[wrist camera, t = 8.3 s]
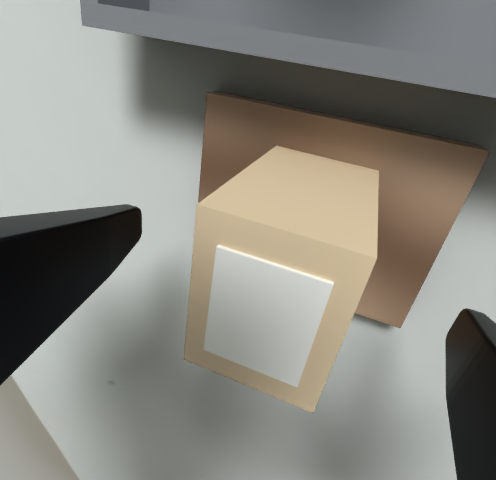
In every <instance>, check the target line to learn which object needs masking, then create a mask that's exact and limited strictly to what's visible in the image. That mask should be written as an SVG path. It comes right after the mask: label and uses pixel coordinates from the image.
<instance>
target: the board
mask: <svg viewBox="0 0 496 480" xmlns="http://www.w3.org/2000/svg"><path fill="white" fill-rule="evenodd" d="M275 146H280V147H284V148H288V149H292V150H296V151H300V152H305V153H309V154H313V155H317V156H321V157H325V158H329V159H333V160H337V161H342V162H346V163H350V164H354V165H358V166H362V167H366V168H370V169H374V170H378V171H379V189H378V240H377V260H376V262H375V265H374V267H373V269H372V272H371V274H370V277H369V279H368V282H367V284H366V286H365V289H364V291H363V294H362V296H361V298H360V301H359V303H358V306H357V308H356V311H355V313H356V314H359V315H362V316H365V317H368V318H371V319H374V320H377V321H380V322H383V323H386V324H389V325H392V326H395V327H398V328H401V326H402V324H403V322H404V320H405V318H406V316H407V314H408V312H409V310H410V308H411V306H412V304H413V302H414V300H415V298H416V297H417V295H418V293H419V291H420V289H421V287H422V285H423V283H424V281H425V279H426V277H427V275H428V273H429V271H430V269H431V267H432V265H433V263H434V261H435V259H436V257H437V255H438V253H439V251H440V249H441V247H442V245H443V243H444V241H445V239H446V237H447V235H448V233H449V231H450V229H451V227H452V225H453V223H454V221H455V220H456V218H457V216H458V214H459V212H460V210H461V208H462V206H463V204H464V202H465V200H466V198H467V196H468V194H469V192H470V190H471V188H472V186H473V184H474V182H475V180H476V178H477V176H478V174H479V172H480V170H481V168H482V166H483V164H484V162H485V160H486V158H487V156H488V154H489V152H490V151H489V150H488V149H486V148H485V147H484V146H480V145H476V144H471V143H466V142H461V141H456V140H451V139H446V138H442V137H437V136H432V135H427V134H422V133H417V132H412V131H408V130H403V129H398V128H393V127H388V126H383V125H378V124H374V123H369V122H364V121H359V120H354V119H349V118H344V117H340V116H335V115H330V114H325V113H320V112H315V111H310V110H306V109H301V108H296V107H291V106H286V105H281V104H276V103H272V102H267V101H262V100H257V99H252V98H247V97H242V96H238V95H233V94H228V93H223V92H218V91H214V92H207V98H206V111H205V124H204V136H203V149H202V161H201V174H200V187H199V199H198V203H199V202H201V201H202V200H203V199H205V198H206V197H207V196H209V195H210V194H211V193H213V192H214V191H216V190H217V189H218V188H220V187H221V186H222V185H224V184H225V183H226V182H228V181H229V180H230V179H232V178H233V177H235V176H236V175H237V174H239V173H240V172H241V171H243V170H244V169H245V168H247V167H248V166H249V165H251V164H252V163H253V162H255V161H256V160H258V159H259V158H260V157H262V156H263V155H264V154H266V153H267V152H268V151H270V150H271V149H272V148H274V147H275Z"/></svg>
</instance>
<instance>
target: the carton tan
mask: <svg viewBox="0 0 496 480" xmlns="http://www.w3.org/2000/svg"><path fill="white" fill-rule="evenodd" d="M378 189H379V171H378V170H374V169H370V168H366V167H362V166H358V165H354V164H350V163H346V162H342V161H337V160H333V159H329V158H325V157H321V156H317V155H313V154H309V153H305V152H300V151H296V150H292V149H288V148H284V147H280V146H275V147H274V148H272V149H271V150H270V151H268V152H267V153H266V154H264V155H263V156H262V157H260V158H259V159H258V160H256V161H255V162H253V163H252V164H251V165H249V166H248V167H247V168H245V169H244V170H243V171H241V172H240V173H239V174H237V175H236V176H235V177H233V178H232V179H230V180H229V181H228V182H226V183H225V184H224V185H222V186H221V187H220V188H218V189H217V190H216V191H214V192H213V193H211V194H210V195H209V196H207V197H206V198H205V199H203V200H202V201H201V202H199V203H198V204H197V210H196V221H195V233H194V245H193V257H192V268H191V280H190V292H189V304H188V315H187V327H186V339H185V351H184V360H187V361H189V362H191V363H194V364H196V365H199V366H201V367H203V368H206V369H208V370H211V371H213V372H215V373H218V374H220V375H223V376H225V377H227V378H230V379H232V380H235V381H237V382H240V383H242V384H244V385H247V386H249V387H252V388H254V389H256V390H259V391H261V392H264V393H266V394H268V395H271V396H273V397H276V398H278V399H280V400H283V401H285V402H288V403H290V404H292V405H295V406H297V407H300V408H302V409H304V410H307V411H309V412H312V413H313V412H314V410H315V407H316V405H317V403H318V400H319V398H320V395H321V393H322V390H323V388H324V386H325V383H326V381H327V378H328V376H329V373H330V371H331V369H332V366H333V364H334V361H335V359H336V357H337V354H338V352H339V349H340V347H341V344H342V342H343V340H344V337H345V335H346V332H347V330H348V328H349V325H350V323H351V320H352V318H353V315H354V313H355V311H356V308H357V306H358V303H359V301H360V298H361V296H362V294H363V291H364V289H365V286H366V284H367V282H368V279H369V277H370V274H371V272H372V269H373V267H374V265H375V262H376V260H377V240H378Z"/></svg>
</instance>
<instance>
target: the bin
mask: <svg viewBox="0 0 496 480" xmlns="http://www.w3.org/2000/svg"><path fill="white" fill-rule="evenodd" d="M80 3H81V15H82V25H83V26H88V27H94V28H100V29H105V30H111V31H117V32H122V33H128V34H134V35H140V36H145V37H151V38H157V39H162V40H168V41H174V42H179V43H185V44H191V45H197V46H202V47H208V48H214V49H219V50H225V51H231V52H236V53H242V54H248V55H254V56H259V57H265V58H271V59H276V60H282V61H288V62H293V63H299V64H305V65H311V66H316V67H322V68H328V69H333V70H339V71H345V72H350V73H356V74H362V75H368V76H373V77H379V78H385V79H390V80H396V81H402V82H407V83H413V84H419V85H425V86H430V87H436V88H442V89H447V90H453V91H459V92H464V93H470V94H476V95H482V96H487V97H493V98H496V0H80Z"/></svg>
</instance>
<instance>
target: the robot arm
mask: <svg viewBox="0 0 496 480" xmlns="http://www.w3.org/2000/svg"><path fill="white" fill-rule="evenodd" d="M141 234H142V214H141V210H140V209H139V208H138V207H135V206H132V205H128V204H125V205H115V206H106V207H96V208H87V209H77V210H68V211H58V212H48V213H39V214H29V215H20V216H10V217H1V218H0V385H1V384H2V383H3V382H4V381H5V380H6V379H7V378H8V377H9V376H10V375H11V374H12V373H13V372H14V371H15V370H16V369H17V368H18V367H19V366H20V365H21V364H22V363H23V362H24V361H25V360H26V359H27V358H28V357H29V356H30V355H31V354H32V353H33V352H34V351H35V350H36V349H37V348H38V347H39V346H40V345H41V344H42V343H43V342H44V341H45V340H46V339H47V338H48V337H49V336H50V335H51V334H52V333H53V332H54V331H55V330H56V329H57V328H58V327H59V326H60V325H61V324H62V323H63V322H64V321H65V320H66V319H67V318H68V317H69V316H70V315H71V314H72V313H73V312H74V311H75V310H76V309H77V308H78V307H79V306H80V305H81V304H82V303H83V302H84V301H85V300H86V299H87V298H88V297H89V296H90V295H91V294H92V293H93V292H94V291H95V290H96V289H97V288H98V287H99V286H100V285H101V284H102V283H103V282H104V281H105V280H106V279H107V278H108V277H109V276H110V275H111V274H112V273H113V272H114V271H115V269H116V268H117V267H118V266H119V264H120V263H121V262H122V261H123V260H124V258H125V257H126V256H127V255H128V253H129V252H130V251H131V250H132V248H133V247H134V246H135V245H136V243H137V242H138V241H139V239H140V237H141ZM446 400H447V408H448V416H449V423H450V430H451V438H452V445H453V452H454V460H455V467H456V474H457V480H496V323H494V322H493V321H492V320H491V319H490V318H489V317H487V316H486V315H485V314H483V313H481V312H478V311H474V310H471V309H467V308H466V309H463V310H462V311H461V312H460V313H459V315H458V317H457V318H456V320H455V322H454V323H453V325H452V327H451V328H450V330H449V332H448V334H447V337H446Z"/></svg>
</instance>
